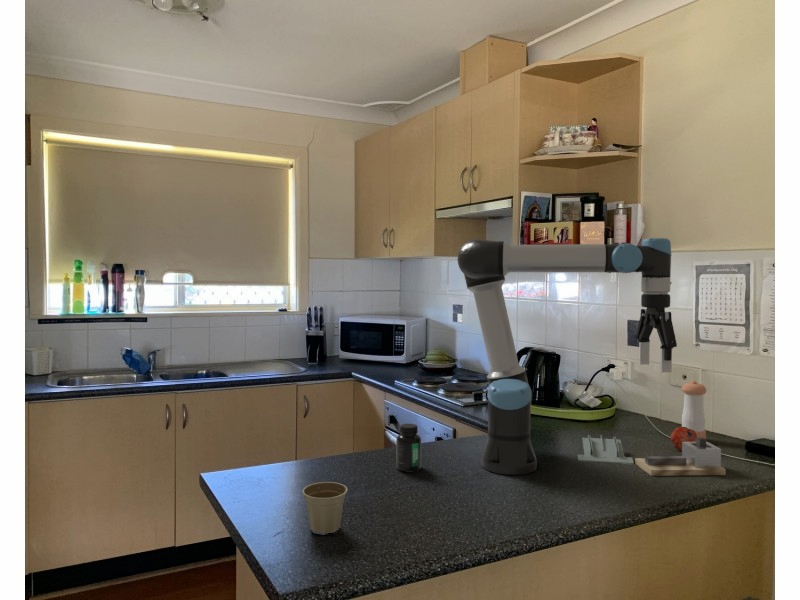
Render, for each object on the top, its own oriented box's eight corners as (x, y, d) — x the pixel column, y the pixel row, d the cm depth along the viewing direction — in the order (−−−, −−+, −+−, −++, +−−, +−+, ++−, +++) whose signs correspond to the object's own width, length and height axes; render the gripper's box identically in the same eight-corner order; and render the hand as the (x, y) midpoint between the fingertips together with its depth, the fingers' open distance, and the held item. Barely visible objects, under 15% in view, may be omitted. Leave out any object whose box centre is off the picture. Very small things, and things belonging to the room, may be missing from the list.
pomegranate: (666, 454, 181) (676, 442, 173) (665, 432, 185) (675, 419, 177) (692, 458, 180) (703, 446, 172) (690, 436, 184) (701, 423, 176)
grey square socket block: (694, 467, 158) (695, 449, 157) (682, 459, 165) (682, 441, 164) (720, 467, 158) (721, 449, 158) (706, 459, 165) (707, 441, 165)
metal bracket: (575, 430, 180) (627, 433, 177) (574, 447, 182) (626, 449, 179) (578, 457, 167) (634, 460, 164) (578, 474, 169) (633, 478, 166)
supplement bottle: (421, 472, 159) (421, 428, 159) (396, 472, 159) (396, 429, 159) (420, 464, 166) (420, 422, 166) (396, 464, 166) (396, 422, 166)
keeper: (651, 475, 156) (651, 444, 156) (635, 463, 166) (635, 433, 166) (725, 474, 156) (726, 443, 156) (705, 462, 166) (705, 433, 166)
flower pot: (349, 519, 129) (348, 481, 129) (346, 539, 120) (346, 497, 119) (306, 520, 129) (305, 481, 128) (300, 540, 120) (299, 498, 119)
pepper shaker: (675, 438, 190) (676, 379, 189) (691, 435, 193) (692, 378, 192) (695, 444, 184) (696, 383, 183) (710, 441, 187) (712, 381, 186)
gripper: (691, 294, 153) (690, 375, 154) (649, 291, 178) (648, 361, 179) (663, 295, 153) (661, 375, 154) (624, 291, 178) (623, 361, 179)
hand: (654, 368), depth 167 cm, fingers open, 13 cm apart
